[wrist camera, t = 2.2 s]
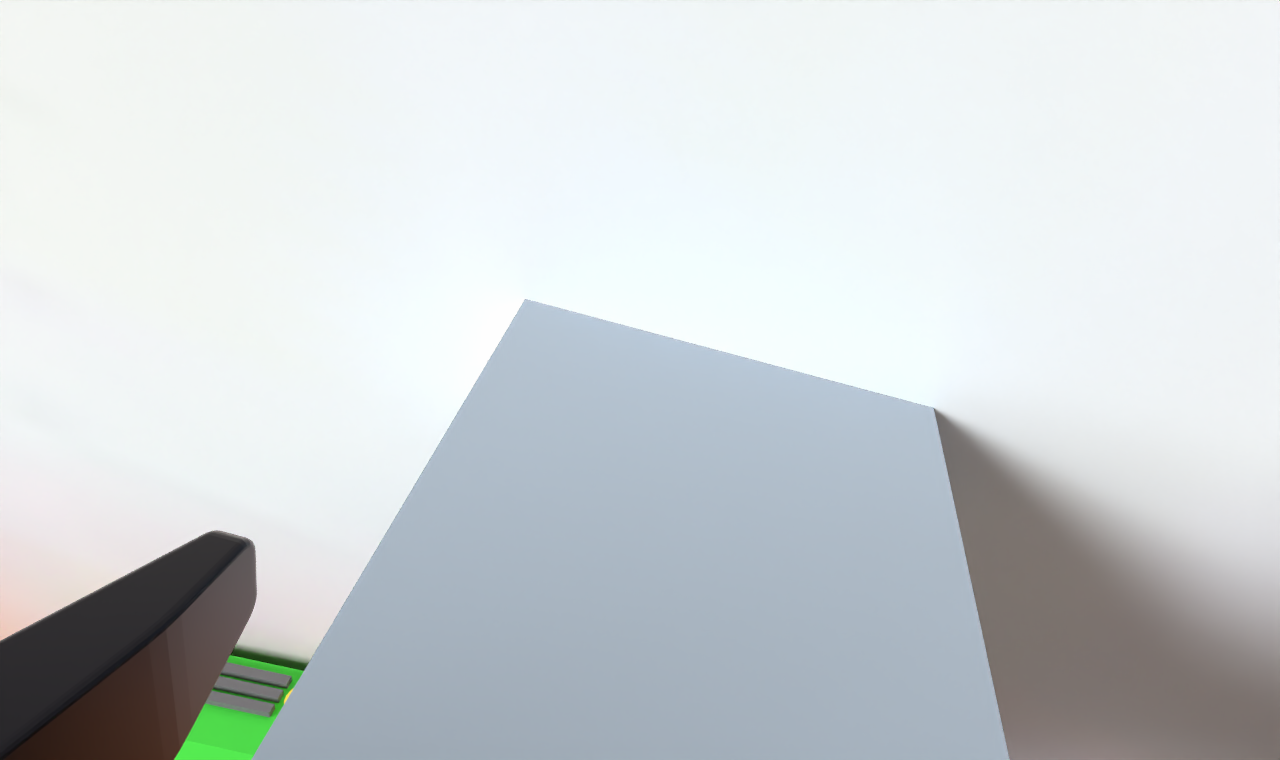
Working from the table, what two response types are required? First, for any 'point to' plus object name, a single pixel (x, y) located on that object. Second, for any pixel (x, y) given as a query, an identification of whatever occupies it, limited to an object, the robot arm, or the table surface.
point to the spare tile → (658, 573)
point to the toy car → (239, 710)
